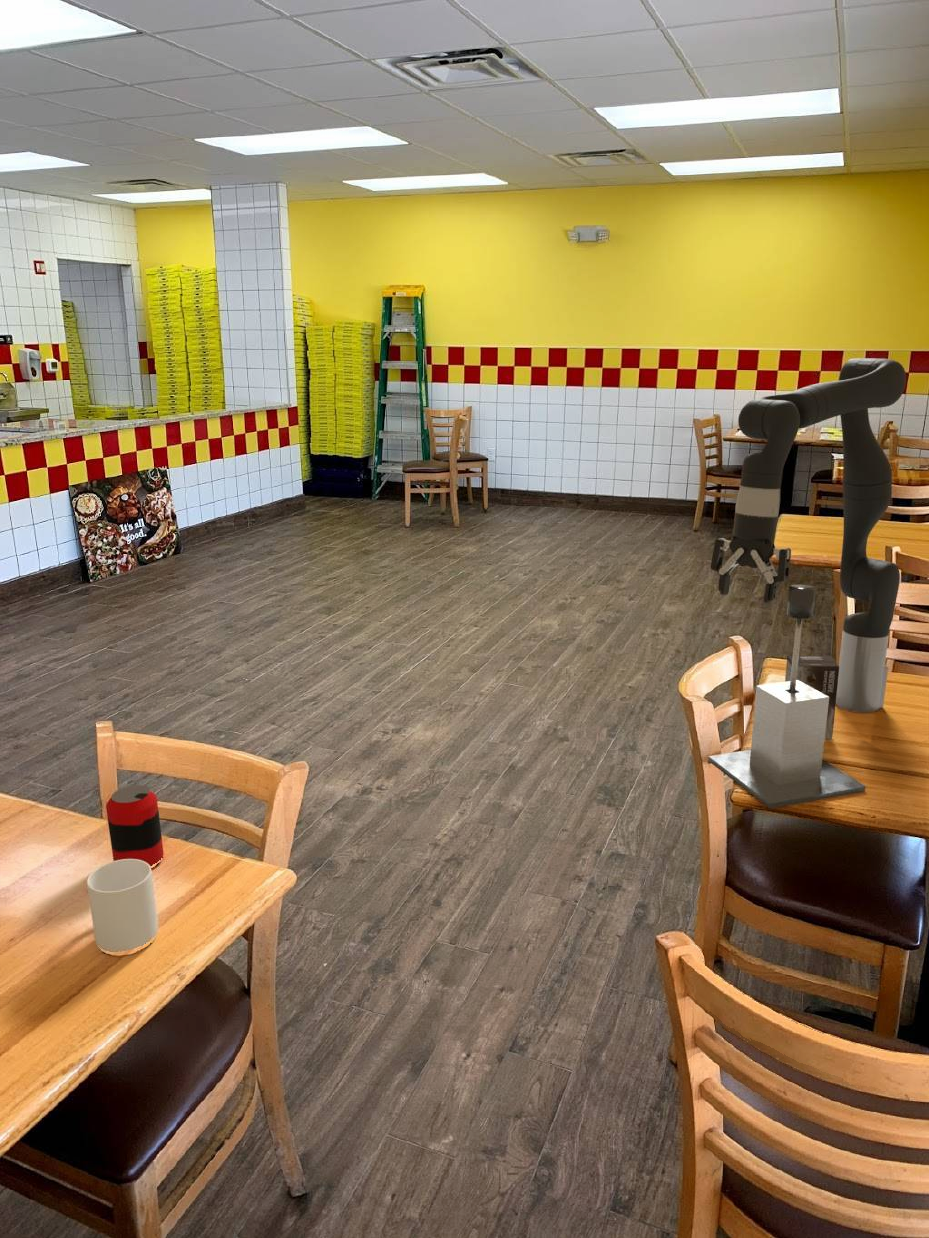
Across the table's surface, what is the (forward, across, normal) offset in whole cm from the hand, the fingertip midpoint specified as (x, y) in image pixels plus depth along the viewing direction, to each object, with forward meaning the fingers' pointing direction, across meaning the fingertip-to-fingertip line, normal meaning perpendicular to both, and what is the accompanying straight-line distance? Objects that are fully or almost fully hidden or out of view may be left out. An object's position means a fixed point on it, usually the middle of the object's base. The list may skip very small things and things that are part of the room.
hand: (745, 598), depth 173 cm
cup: (+42, +40, +104) cm, 119 cm away
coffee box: (+30, -8, -22) cm, 38 cm away
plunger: (+17, -11, +1) cm, 21 cm away
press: (+32, -12, 0) cm, 34 cm away
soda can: (+41, +55, +93) cm, 116 cm away
